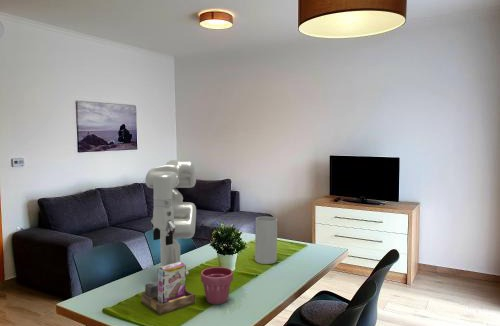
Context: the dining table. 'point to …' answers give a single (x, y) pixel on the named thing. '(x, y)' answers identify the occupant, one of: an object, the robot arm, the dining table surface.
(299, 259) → the dining table surface
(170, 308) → the tray
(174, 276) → the candy bar box
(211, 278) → the plant pot
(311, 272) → the dining table surface
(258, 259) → the cylinder vase
